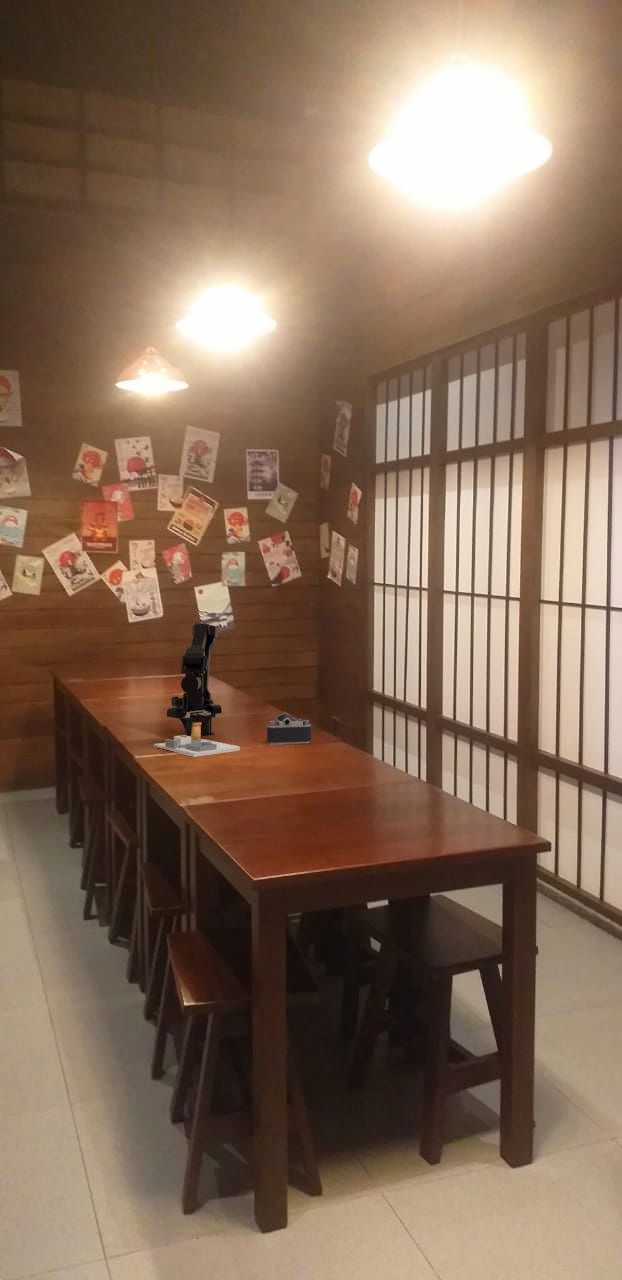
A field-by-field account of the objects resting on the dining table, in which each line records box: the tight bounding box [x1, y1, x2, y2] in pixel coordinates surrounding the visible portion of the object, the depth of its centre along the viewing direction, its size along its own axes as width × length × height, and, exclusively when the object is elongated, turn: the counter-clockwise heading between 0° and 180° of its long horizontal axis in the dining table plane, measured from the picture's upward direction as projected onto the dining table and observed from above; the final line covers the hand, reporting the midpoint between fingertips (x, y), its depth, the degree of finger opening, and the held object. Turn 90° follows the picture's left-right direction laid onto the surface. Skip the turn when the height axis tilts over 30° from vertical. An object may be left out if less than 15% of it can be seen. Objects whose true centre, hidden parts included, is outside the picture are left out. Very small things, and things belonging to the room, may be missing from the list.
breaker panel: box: [153, 738, 241, 758], centre depth 316 cm, size 18×22×4 cm
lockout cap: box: [190, 722, 202, 740], centre depth 325 cm, size 5×5×6 cm
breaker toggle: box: [173, 734, 191, 747], centre depth 315 cm, size 4×4×3 cm
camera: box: [265, 712, 312, 746], centre depth 331 cm, size 16×8×10 cm, turn 103°
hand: (194, 736), depth 325 cm, fingers open, 4 cm apart
